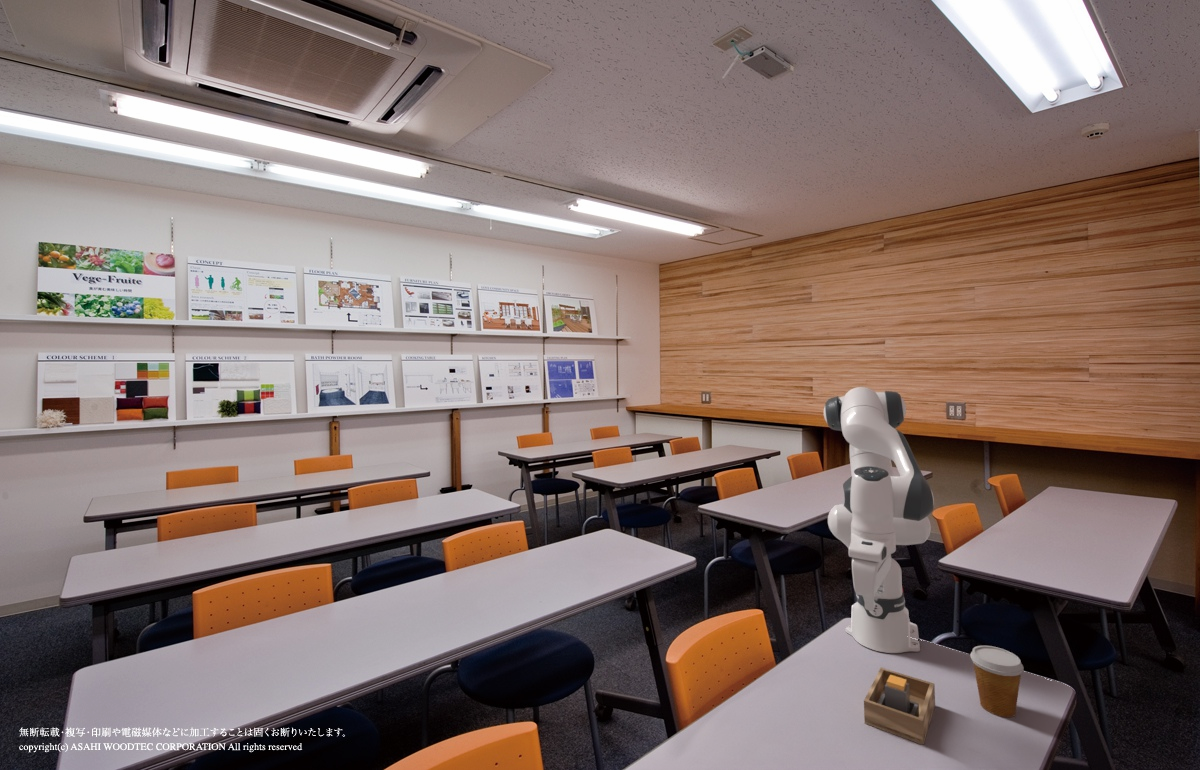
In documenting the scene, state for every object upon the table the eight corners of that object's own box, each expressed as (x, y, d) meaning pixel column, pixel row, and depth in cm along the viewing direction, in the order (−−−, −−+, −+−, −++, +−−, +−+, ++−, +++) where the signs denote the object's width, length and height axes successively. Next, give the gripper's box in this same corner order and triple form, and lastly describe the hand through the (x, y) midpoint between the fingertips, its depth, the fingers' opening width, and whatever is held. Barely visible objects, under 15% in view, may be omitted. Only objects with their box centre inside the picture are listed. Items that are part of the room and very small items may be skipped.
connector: (889, 708, 115) (888, 673, 115) (910, 715, 113) (908, 679, 113) (885, 717, 112) (884, 681, 112) (906, 725, 110) (905, 688, 110)
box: (881, 687, 125) (880, 667, 124) (935, 705, 117) (934, 683, 117) (864, 723, 112) (863, 700, 112) (923, 745, 105) (922, 720, 105)
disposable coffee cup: (1009, 697, 119) (1007, 645, 119) (1035, 724, 110) (1033, 669, 110) (963, 693, 121) (962, 643, 121) (984, 720, 112) (983, 665, 112)
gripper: (868, 525, 125) (869, 581, 126) (846, 551, 110) (848, 615, 110) (897, 529, 121) (899, 587, 122) (879, 557, 106) (881, 623, 106)
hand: (874, 600), depth 116 cm, fingers open, 8 cm apart
